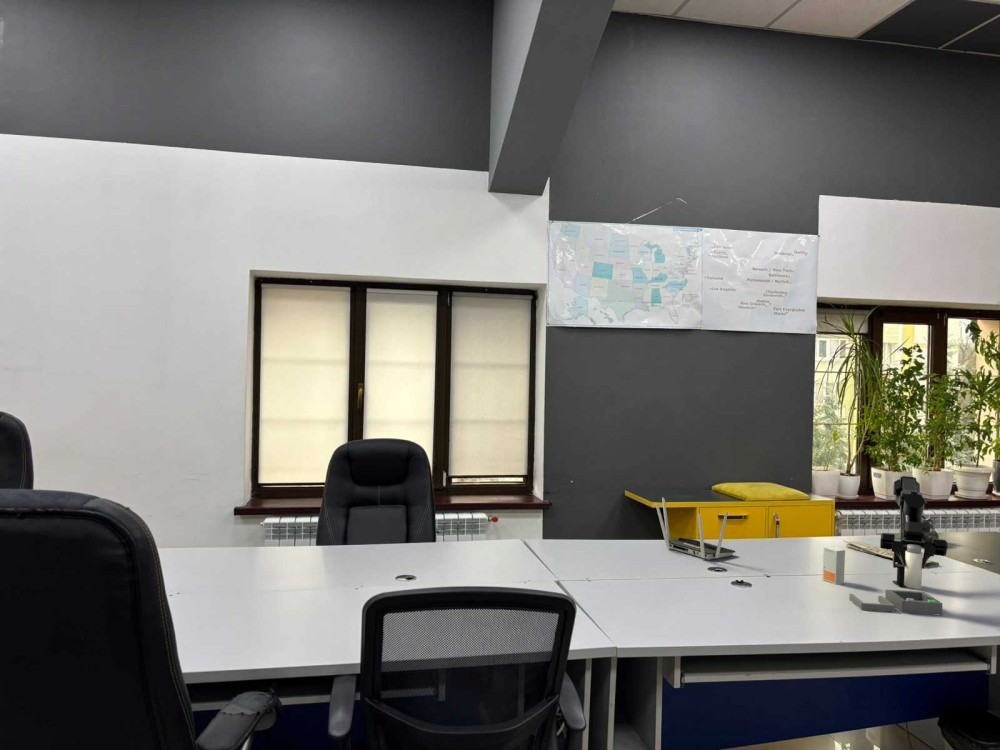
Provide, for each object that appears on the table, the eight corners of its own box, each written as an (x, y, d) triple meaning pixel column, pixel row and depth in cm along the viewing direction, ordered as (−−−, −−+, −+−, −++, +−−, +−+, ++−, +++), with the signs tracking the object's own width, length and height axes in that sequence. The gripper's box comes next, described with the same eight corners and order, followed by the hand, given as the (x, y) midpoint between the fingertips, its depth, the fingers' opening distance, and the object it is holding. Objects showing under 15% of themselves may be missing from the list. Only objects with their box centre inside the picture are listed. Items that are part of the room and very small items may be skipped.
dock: (885, 600, 237) (885, 587, 237) (923, 602, 236) (924, 590, 236) (901, 612, 225) (901, 599, 225) (942, 615, 224) (942, 601, 224)
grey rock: (899, 543, 322) (892, 513, 328) (905, 550, 330) (898, 520, 337) (937, 539, 313) (929, 508, 320) (942, 545, 322) (934, 515, 328)
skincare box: (821, 579, 259) (823, 546, 259) (830, 578, 261) (831, 545, 261) (835, 584, 254) (837, 550, 254) (844, 583, 255) (845, 550, 255)
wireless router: (747, 559, 285) (749, 509, 285) (708, 566, 272) (710, 514, 272) (682, 541, 313) (683, 495, 313) (644, 547, 300) (645, 499, 300)
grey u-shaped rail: (849, 599, 237) (849, 593, 237) (881, 601, 236) (881, 595, 236) (861, 609, 227) (861, 603, 227) (894, 611, 226) (894, 605, 226)
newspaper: (939, 567, 285) (939, 558, 285) (919, 570, 279) (919, 561, 279) (859, 546, 316) (859, 538, 316) (839, 548, 311) (840, 540, 311)
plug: (900, 584, 233) (902, 544, 232) (913, 583, 234) (914, 543, 233) (912, 588, 228) (913, 548, 228) (925, 588, 229) (926, 547, 229)
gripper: (881, 508, 238) (882, 548, 228) (948, 514, 230) (951, 557, 220) (880, 527, 245) (880, 567, 235) (944, 534, 237) (947, 576, 227)
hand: (913, 566), depth 229 cm, fingers closed on plug, 5 cm apart
